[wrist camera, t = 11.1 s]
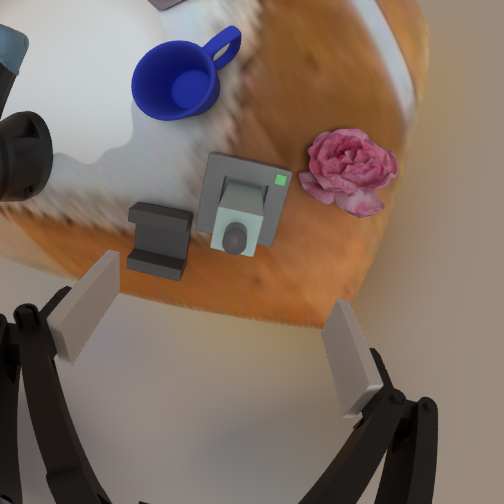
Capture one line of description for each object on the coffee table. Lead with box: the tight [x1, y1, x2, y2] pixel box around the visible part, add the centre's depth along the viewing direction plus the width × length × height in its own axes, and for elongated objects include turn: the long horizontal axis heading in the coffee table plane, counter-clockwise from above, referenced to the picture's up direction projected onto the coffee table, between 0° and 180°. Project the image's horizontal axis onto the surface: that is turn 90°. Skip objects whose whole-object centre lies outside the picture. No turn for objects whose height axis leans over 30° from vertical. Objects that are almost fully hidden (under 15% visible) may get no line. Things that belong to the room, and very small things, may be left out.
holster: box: [127, 202, 193, 281], centre depth 37 cm, size 8×9×4 cm
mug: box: [131, 26, 241, 121], centre depth 25 cm, size 8×12×10 cm
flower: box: [299, 128, 399, 218], centre depth 31 cm, size 11×10×10 cm
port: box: [195, 151, 293, 247], centre depth 35 cm, size 10×10×3 cm
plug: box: [210, 180, 264, 257], centre depth 29 cm, size 4×4×14 cm
